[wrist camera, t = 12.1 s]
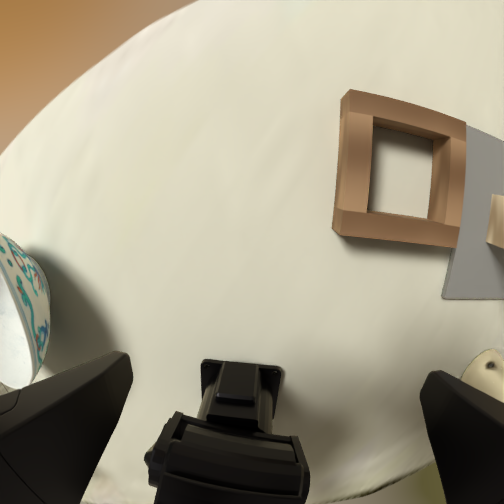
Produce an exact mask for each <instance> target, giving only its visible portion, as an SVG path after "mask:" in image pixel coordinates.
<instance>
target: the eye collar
mask: <svg viewBox="0 0 504 504" xmlns="http://www.w3.org/2000/svg"><path fill="white" fill-rule="evenodd" d="M373 126H378V127H383V128H387V129H392V130H396V131H400V132H404V133H408V134H412V135H416V136H420V137H424V138H427V139H431V140H433V161H432V177H431V190H430V200H429V209H428V217H427V219H425V218H418V217H412V216H405V215H398V214H391V213H384V212H377V211H369V210H367V204H368V194H369V183H370V170H371V155H372V133H373ZM465 173H466V122H464V121H462V120H459V119H456V118H454V117H451V116H448V115H445V114H443V113H440V112H437V111H434V110H431V109H428V108H424V107H421V106H418V105H415V104H411V103H408V102H404V101H400V100H397V99H393V98H389V97H385V96H380V95H376V94H372V93H367V92H362V91H357V90H352V89H350V90H349V91H348V92H347V93H346V94H345V95H344V96H343V98H342V99H341V107H340V134H339V152H338V167H337V180H336V192H335V202H334V212H333V222H332V229H333V230H335V231H336V232H337V233H338V234H339V235H344V236H354V237H364V238H373V239H383V240H392V241H401V242H410V243H418V244H427V245H435V246H443V247H451V248H457V242H458V236H459V230H460V224H461V216H462V208H463V199H464V188H465Z"/></svg>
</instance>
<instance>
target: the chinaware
mask: <svg viewBox="0 0 504 504" xmlns="http://www.w3.org/2000/svg"><path fill="white" fill-rule="evenodd" d="M50 300H51V298H50V289H49V285H48V282H47V279H46V276H45V274H44V272H43V270H42V269H41V267H40V266H39V264H38V263H37V262H36V261H35V260H34V259H33V258H32V257H31V256H29V255H27V254H26V253H25V252H24V251H23V250H22V248H21V247H20V246H18V245H17V244H16V243H15V242H14V241H13V240H11V239H10V238H9V237H7V236H5V235H4V234H2V233H0V382H2V383H3V384H5V385H6V386H8V387H11V388H13V389H21V388H23V387H25V386H28V385H30V384H31V383H32V382H33V380H34V379H35V377H36V375H37V373H38V371H39V369H40V367H41V365H42V363H43V360H44V358H45V355H46V352H47V348H48V343H49V337H50V310H49V307H50Z"/></svg>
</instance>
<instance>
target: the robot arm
mask: <svg viewBox="0 0 504 504" xmlns="http://www.w3.org/2000/svg"><path fill="white" fill-rule="evenodd" d="M205 364H207V365H209V366H206V365H205ZM273 371H276V372H277V373H273ZM280 378H281V369H280V367H278V366H269V365H256V364H248V363H238V362H229V361H218V360H210V359H204V360H203V361H202V363H201V390H202V402H201V406H200V409H199V412H198V415H197V418H194V417H190V416H187V415H183V413H181V412H178V411H176V412H175V413H174V415H173V417H172V418H169V420H168V422H167V424H165V425H164V427H163V430H162V432H161V434H160V436H159V438H158V440H157V441H156V443H155V444H154V445H153V446H152V447H151V448H150V449H149V450H148V451H147V452H146V454H145V457H144V461H145V463H146V465H147V466H148V468H149V469H148V474H149V479H148V483H149V485H150V486H153V487H156V488H157V492H156V496H155V500H154V504H305V502H306V499H307V496H308V493H309V487H310V471H309V467H308V464H307V461H306V458H305V456H304V453H303V450H302V447H301V444H300V441H299V438H298V436H290V437H288V436H280V435H274V434H272V420H273V419H274V413H275V408H276V402H277V396H278V390H279V384H280ZM132 382H133V372H132V367H131V361H130V357H129V355H128V354H127V353H124V352H120V351H114V352H111V353H109V354H106V355H104V356H102V357H99V358H97V359H94V360H92V361H89V362H87V363H85V364H82V365H80V366H77V367H75V368H72V369H70V370H67V371H65V372H62V373H59V374H57V375H54V376H52V377H49V378H47V379H44V380H41V381H39V382H36V383H33V384H31V385H28V386H25V387H23V388H21V389H17V390H14V391H12V392H9V393H6V394H3V395H0V504H80V502H81V499H82V497H83V495H84V493H85V490H86V488H87V486H88V484H89V482H90V480H91V477H92V475H93V473H94V471H95V469H96V467H97V465H98V462H99V460H100V458H101V456H102V454H103V452H104V450H105V448H106V446H107V444H108V442H109V440H110V438H111V435H112V433H113V431H114V429H115V427H116V425H117V423H118V421H119V418H120V416H121V413H122V410H123V407H124V404H125V402H126V399H127V396H128V393H129V391H130V388H131V385H132ZM420 401H421V405H422V410H423V414H424V419H425V423H426V428H427V432H428V437H429V440H430V444H431V447H432V450H433V453H434V457H435V460H436V464H437V467H438V470H439V474H440V478H441V482H442V486H443V490H444V494H445V498H446V503H447V504H504V403H503V402H501V401H499V400H497V399H495V398H494V397H492V396H490V395H488V394H486V393H484V392H482V391H480V390H478V389H476V388H474V387H472V386H471V385H469V384H467V383H465V382H463V381H461V380H459V379H457V378H455V377H453V376H452V375H450V374H448V373H446V372H444V371H442V370H438V371H432V372H430V373H429V374H428V376H427V378H426V380H425V383H424V385H423V387H422V389H421V391H420Z"/></svg>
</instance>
